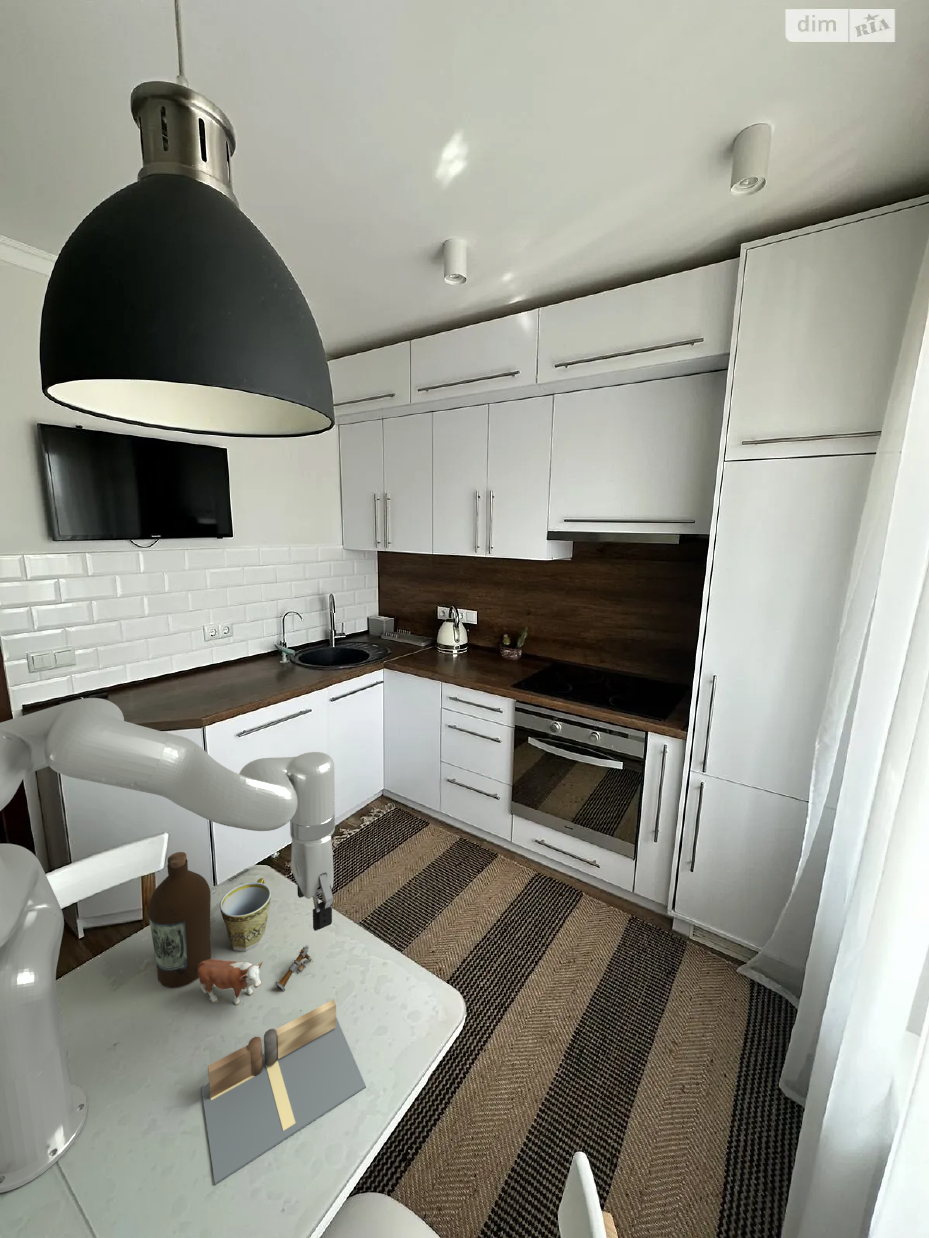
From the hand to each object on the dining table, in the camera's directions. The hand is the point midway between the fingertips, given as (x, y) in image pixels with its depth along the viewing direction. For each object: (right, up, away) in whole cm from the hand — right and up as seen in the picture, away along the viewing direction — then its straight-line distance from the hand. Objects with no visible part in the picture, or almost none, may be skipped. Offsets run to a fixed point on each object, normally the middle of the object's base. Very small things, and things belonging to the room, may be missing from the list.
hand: (314, 909), depth 90 cm
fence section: (-10, -22, -10) cm, 26 cm away
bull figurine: (-17, -19, +4) cm, 26 cm away
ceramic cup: (-20, -17, +19) cm, 32 cm away
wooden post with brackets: (-7, -19, +9) cm, 22 cm away
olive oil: (-29, -18, +10) cm, 36 cm away
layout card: (-2, -22, -11) cm, 25 cm away
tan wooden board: (-1, -21, -4) cm, 21 cm away
